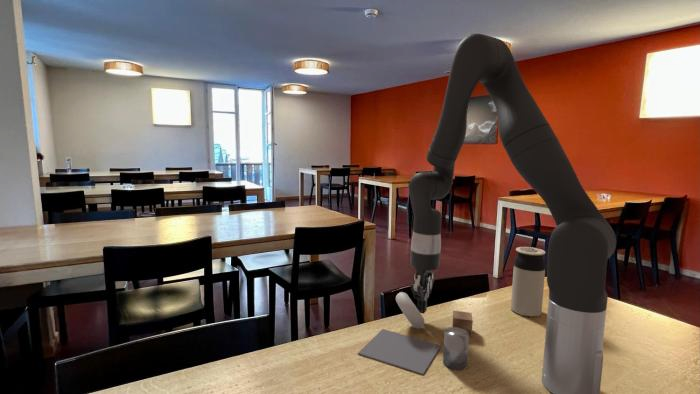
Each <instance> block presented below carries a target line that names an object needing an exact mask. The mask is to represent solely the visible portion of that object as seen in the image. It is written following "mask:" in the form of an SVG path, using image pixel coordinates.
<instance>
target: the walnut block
mask: <svg viewBox="0 0 700 394" xmlns="http://www.w3.org/2000/svg"><path fill="white" fill-rule="evenodd" d="M472 315H473V314H472V312H469V311H460V310H459V311H458V310H452V325H451V327H457V328H461V329H464V330H466V331H467V332H468V333H469V339H470V338H471V339H472V338H473V337H472V336H473V334H472V333H473V322H474V320H473V316H472Z"/></svg>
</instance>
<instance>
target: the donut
mask: <svg viewBox="0 0 700 394" xmlns="http://www.w3.org/2000/svg"><path fill="white" fill-rule="evenodd" d="M395 301H396V304H397V305H398V307H399V309H400V310H401V312H402V313H403V315H404V316H405V318H406V319H407V320H408V322H409V323H410V325H411V326H412V327H413V328H414V329H417V330H420V329H422V328H423V327H424V326H425V319H424V317H423V315H422V313H420V312H419V310H418V309H417V305H416V304H415V303H414V302H413V301H412V299H411V298H410V296H409V295H408V294H407V293H406V292H403V291H400V292H399V293H397V294H396V296H395Z"/></svg>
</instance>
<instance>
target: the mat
mask: <svg viewBox="0 0 700 394" xmlns="http://www.w3.org/2000/svg"><path fill="white" fill-rule="evenodd" d="M441 347H442V345H441V344H439V343H435V342H431V341H429V340H428V341H427V340H425V339H421V338H417V337H413V336H410V335H406V334H402V333H398V332H395V331H391V330H388V329H385V328H381V330H380V331H379V332H377V334H376V335H375V336H373V337H372V339H371V340H369V342H367V343H366V344H365V345H364V346H363V347H362V348H361V349H360V351H358V353H357V355H359V356H363V357H366V358H369V359H372V360H375V361H379V362H380V363H384V364H387V365H389V366H394V367H397V368H400V369H403V370H406V371H409V372H411V373H412V372H413V373H416V374H419V375H420V376H424V375H425V373H426V372H427V370H428V368H429V367H430V365H431V363H432V361H433V360H434V359H435V358H436V356H437V353H438V352H439V351H440V349H441Z"/></svg>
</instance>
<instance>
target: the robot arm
mask: <svg viewBox="0 0 700 394" xmlns="http://www.w3.org/2000/svg"><path fill="white" fill-rule="evenodd" d="M448 76H449V77H448V81H447V86H446V90H445V95H444V99H443V104H442V109H441V112H440V113H441V114H440V115H439V120H438V124H437V126H436V129H435V132H434V135H433V138H432V140H431V142H430V145H429V148H428V150H427V154H426V161H427V162H428V164H430V165H431V166H433V170H432V172H430V171H427V172H418V173H415V174H414V175H412V177H411V179H410V181H409V184H408V194H409V198H410V205H411V208H412V213H413V214H412V215H413V224H412V225H413V228H412V235H411V243H410V257H409V258H410V260H409V263H410V266H411V267H412V268H414V269H415V273H414V276H413V277H414V278H413V279H414V283H411V284H410V290H411V292H412V296H413V299H416V300H417V302H416V308H417V309H418V310H419V312H420V313H421V314H423V315H424V314H425V313H426V312H427V309H428V299H429V297H430V294H432V289H433V285H434V282H435V278H436V273H435V272H433V271H436V270H438V269H439V267H440V263H441V262H440V261H441V248H442V247H441V245H442V238H441V232H442V219H443V218H442V213H441V211H439V210H438V209H435V208H433V207H432V205H431V204H432V203H431V201H434V200H435V201H436V200H441V199H443V198H445V197H446V196H447V195H448V194H449V192H450V191H451V188H452V186H453V179H454V173H455V166H456V165H455V163H456V161H457V159H458V157H459V154H460V151H461V149H462V147H463V145H464V141H465V139H466V134H467V126H468V125H467V124H468V123H467V122H468V120H467V119H468V111H469V110H468V109H469V104H470V101H471V97H472V94H473V92H474V90H475V88H476V86H477V85H478V83H480V84H482V86H483V88H485V90H486V92H487V93H488V95H489V97H490V99H491V100H492V102H493V105H494V107H495V110H496V114H497V126H498V127H497V128H498V129H497V130H498V134H499V139H500V141H501V144H502V146H503V149H504V151H505V152H506V154H507V156H508V158H509V160H510V162H511V164H512V166H513V167H514V169H515V170H516V171H517V172H518V174H519V175H520V176H521V177H522V179H523V180H524V181H525V182H526V183H527V184H528V185H529V186H530V187H531V188H532V189H533V190H534V191H535V192H536V193H537V195H538V196H540V198H541V199H542V201H543V202H544V204H545V205H546V206H547V208H548V210H549V212H550V214H551V216H552V218H553V220H554V223H555V225H556V227H555V228H553V231H552V232H551V234H550V237H549V239H548V240H549V242H548V249H547V262H546V263H547V265H546V266H547V267H546V283H547V288H548V303H547V316H546V327H545V336H544V340H545V341H544V348H543V349H544V350H543V351H544V352H543V360H542V371H541V383H542V385H543V387H545V389H547V390H548V392H551V394H601V385H602V377H603V376H602V375H603V364H604V350H603V346H604V335H605V325H606V316H607V308H608V307H607V306H608V299H609V298H608V297H609V296H608V292H607V291H606V279H607V268H608V260H609V259H610V258H611V257H612V256H613V254H614V253H615V251H616V247H617V237H616V234H615V232H614V230H613V228H612V226H611V224H610V223H609V222H608V220H607V219H606V217H604V215H603V214H602V212H600V210H599V208H598V207H597V206H596V204H595V203H594V202H593V200H592V199H591V197H590V196H589V195H588V193H587V192H586V190H585V189H584V186H583V185H582V184H581V181H580V180H579V178H578V175H577V174H576V171H575V169H574V167H573V165H572V163H571V161H570V159H569V157H568V156H567V154H566V152H565V150H564V149H563V146H562V144H561V142H560V140H559V139H558V136H557V135H556V133H555V132H554V130H553V128H552V127H551V125H550V123H549V122H548V120H547V118H546V117H545V115H544V114H543V112H542V110H541V108H540V107H539V105H538V103H537V102H536V99H534V97H533V95H532V94H531V93H530V91H529V89H528V87H527V86H526V83H525V82H524V80H523V77H522V75H521V73H520V70H519V68H518V66H517V63H516V60H515V58H514V56H513V53H512V52H511V50H510V47H509V46H508V45H507V43H505V42H504V41H503V40H502V39H500V38H497V37H495V36H490V35H487V34H483V33H472V34H469V35H467V36H466V37H464V38H463V39H462V40H461V41H460V43H459V44H458V45H457V47H456V50H455V51H454V54H453V58H452V62H451V67H450V71H449V75H448Z"/></svg>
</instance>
